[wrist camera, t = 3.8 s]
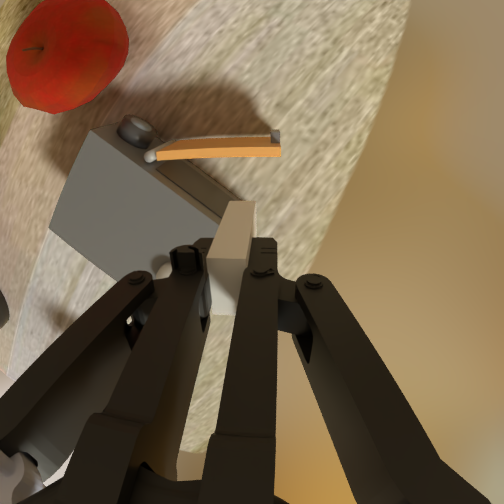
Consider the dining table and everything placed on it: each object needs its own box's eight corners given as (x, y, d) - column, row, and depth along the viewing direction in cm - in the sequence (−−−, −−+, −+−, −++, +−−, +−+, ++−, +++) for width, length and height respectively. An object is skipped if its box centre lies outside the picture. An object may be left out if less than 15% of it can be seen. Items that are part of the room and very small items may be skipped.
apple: (132, 114, 30) (56, 132, 17) (55, 97, 28) (-27, 113, 16) (167, 14, 24) (105, -25, 12) (83, 7, 23) (6, -13, 10)
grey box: (88, 198, 35) (43, 231, 26) (139, 107, 29) (92, 114, 21) (197, 279, 40) (179, 331, 31) (266, 201, 34) (263, 241, 25)
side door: (169, 149, 31) (144, 162, 25) (167, 131, 30) (142, 141, 24) (278, 145, 30) (280, 158, 24) (278, 127, 29) (280, 135, 23)
